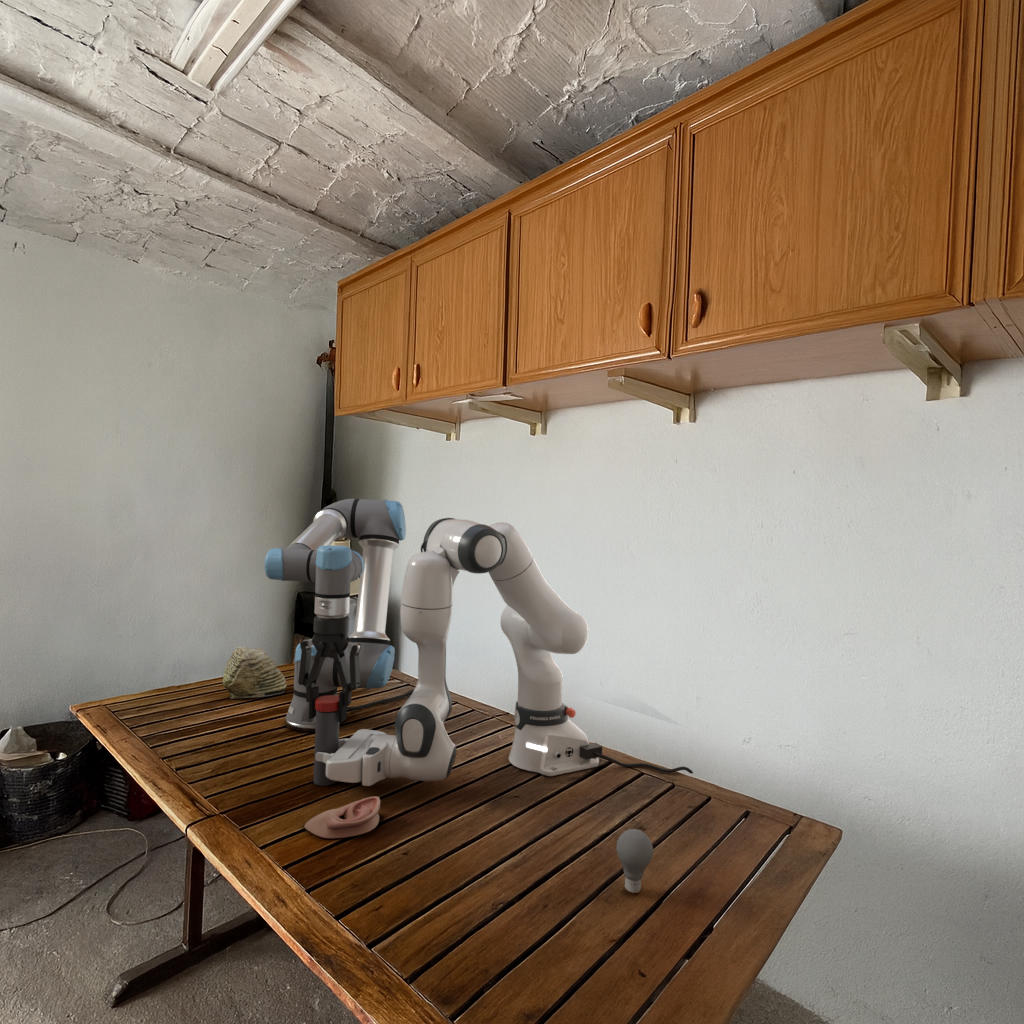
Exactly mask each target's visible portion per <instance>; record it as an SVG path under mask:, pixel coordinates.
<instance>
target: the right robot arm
mask: <svg viewBox="0 0 1024 1024" xmlns="http://www.w3.org/2000/svg"><path fill="white" fill-rule="evenodd" d="M460 571H464V572H468V573H470V574H475V575H476V574H478V575H479V574H481V575H482V574H486V573H488V574H489V576H490V578H491V580H492V581H493V583H494V585H495V587H496V589H497V591H498V593H499V595H500V597H501V598H502V600H503V602H504V604H506V606H505V607H504V609H503V610H502V612H501V615H500V622H499V623H500V628H501V631H502V633H503V634H504V635H505V636H506V638H507V640H508V642H509V643H510V646H511V648H512V653H513V656H514V658H515V662H516V667H517V700H516V702H515V709H514V727H515V728H514V735H513V740H512V743H511V748H510V751H509V754H508V757H507V758H508V762H509V763H510V764H511V765H512V766H514V767H516V768H518V769H521V770H525V771H528V772H533V773H538V774H540V775H544V776H547V777H554V776H558V775H564V774H569V773H573V772H578V771H582V770H588V769H593V768H597V767H599V765H600V758H602V759H604V760H607V761H609V762H611V763H614V764H616V765H617V766H621V767H622V768H623V767H624V768H637V767H639V768H640V767H641V768H643V767H644V768H649V769H652V770H655V771H658V772H661V773H666V774H667V773H669V774H672V773H677V772H679V771H686V772H688V773H689V774H694V772H693V770H692V769H691V768H689V767H687V766H678V767H675V768H663V767H659V766H656V765H653V764H650V763H646V762H645V763H644V762H637V763H636V762H635V763H625V762H621V761H618V760H617V759H615V758H613V757H610V756H607V755H605V754H603V746H602V745H601V744H600V743H597V742H592V743H590V741H589V737H588V735H587V734H586V733H585V732H584V730H582V729H581V728H580V727H579V726H578V725H576V724H575V723H574V722H573V721H572V720H570V718H571V719H573V718H575V716H576V714H577V713H576V711H575V709H573V708H572V707H569V706H568V705H566V704H564V703H563V686H564V675H563V672H562V670H561V667H559V666H558V664H557V663H556V661H555V660H554V658H553V655H552V653H553V654H556V655H575V654H578V653H579V652H581V651H582V650H583V648H584V647H585V646H586V644H587V642H588V639H589V625H588V621H587V620H586V619H585V617H584V616H583V615H581V614H580V613H579V612H577V611H576V610H574V609H573V608H572V607H570V606H569V605H568V604H567V603H566V602H565V601H564V599H563V598H562V597H560V595H559V594H558V593H557V592H556V590H554V589H553V588H552V586H551V585H550V584H549V583H548V581H547V580H546V578H545V577H544V574H543V573H542V571H541V569H540V567H539V566H538V564H537V561H536V559H535V558H534V556H533V553H532V551H531V550H530V547H529V546H528V545H527V543H526V542H525V540H524V539H523V537H522V536H521V535H520V533H519V532H518V531H517V529H516V528H515V527H514V526H513V525H512V524H510V523H508V522H504V521H502V522H501V521H500V522H495V523H492V524H489V525H487V524H483V523H479V522H476V521H473V520H469V519H459V518H454V517H444V518H439V519H437V520H435V521H433V522H432V523H431V524H430V525H429V526H428V528H427V530H426V532H425V533H424V537H423V541H422V543H421V545H420V552H418V553H416V554H414V555H412V557H410V558H409V560H408V562H407V564H406V568H405V571H404V572H405V573H404V576H403V582H402V587H401V595H400V624H401V631H402V633H403V635H404V636H405V637H406V638H407V639H408V640H409V641H411V642H413V643H414V644H416V646H417V651H418V652H417V653H418V656H417V657H418V659H417V662H418V663H417V666H418V667H417V682H416V684H415V687H414V688H413V689H414V691H413V692H412V693H411V694H410V695H409V697H408V699H407V700H406V701H405V702H404V703H403V705H402V706H401V707H400V709H399V710H398V712H397V714H396V717H395V720H394V730H395V735H394V734H387V733H386V732H384V731H381V730H375V729H374V730H373V729H366V728H361V729H357V730H356V732H354V733H353V734H352V735H351V736H350V738H347V737H345V738H341V739H340V738H339V749H338V751H337V752H336V753H331V754H328V753H326V751H318V752H317V753H316V754H315V753H314V755H315V760H316V761H321V762H324V763H326V777H327V778H329V779H330V780H334V781H336V782H342V783H351V784H357V783H361V785H362V786H364V787H372V786H374V785H375V784H376V783H378V782H380V781H383V780H386V779H398V778H404V779H408V780H410V781H417V782H441V781H444V780H446V779H448V777H449V776H450V774H451V773H452V770H453V768H454V765H455V762H456V757H457V745H456V744H455V743H454V741H452V740H451V738H450V736H449V735H448V731H447V729H446V728H445V722H446V720H448V718H449V716H450V715H451V713H452V709H453V700H452V696H451V692H450V690H449V687H448V684H447V678H446V673H447V671H446V669H447V641H448V636H449V632H450V628H451V627H450V626H451V623H452V614H453V603H454V601H453V600H454V584H455V581H456V579H457V577H458V575H459V573H460Z"/></svg>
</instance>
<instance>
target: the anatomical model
mask: <svg viewBox="0 0 1024 1024" xmlns="http://www.w3.org/2000/svg"><path fill="white" fill-rule="evenodd" d="M380 808H381V799H380V797H379V796H368V797H364V798H361V799H358V800H356V801H353V802H350V803H348V804H345V805H343V806H341V807H337V808H333V809H328V810H325V811H323V812H320V813H319V814H317V815H315V816H313V817H312V818H310V819H309V820H308V821H306V822H305V824H304V828H305V830H306V831H307V832H310V833H311V834H312V835H315V836H317V837H319V838H321V839H322V838H323V839H341V838H342V839H343V838H350V837H355V836H359V835H364V834H365V833H366V834H367V833H369V832H371V831H373V830H374V829H375V828H376V827H377V826H378V825H379V822H380V815H379V811H380Z"/></svg>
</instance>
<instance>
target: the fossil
mask: <svg viewBox="0 0 1024 1024" xmlns="http://www.w3.org/2000/svg"><path fill="white" fill-rule="evenodd" d="M222 676H223V677H222V685H223V687H224V688H225V690H226V691H228V693H229V698H230V699H250V698H264V697H271V696H275V695H281V694H284V693H285V691H286V689H287V687H288V686H287V680H286V678H285V676H284V674H283V673H282V672H281V669H279V668H278V667H277V665H276V663H275V662H274V660H273V659H272V658H271V657H270V656H269V655H268V654H267V653H266V652H265V650H264V649H263V648H260V647H258V648H251V647H247V646H246V647H245V646H238V647H237V648H236V649H235V650H233V651H232V653H231V656H230V657H229V659H228V660H227V663H226V666H225V668H224V671H223V675H222Z"/></svg>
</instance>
